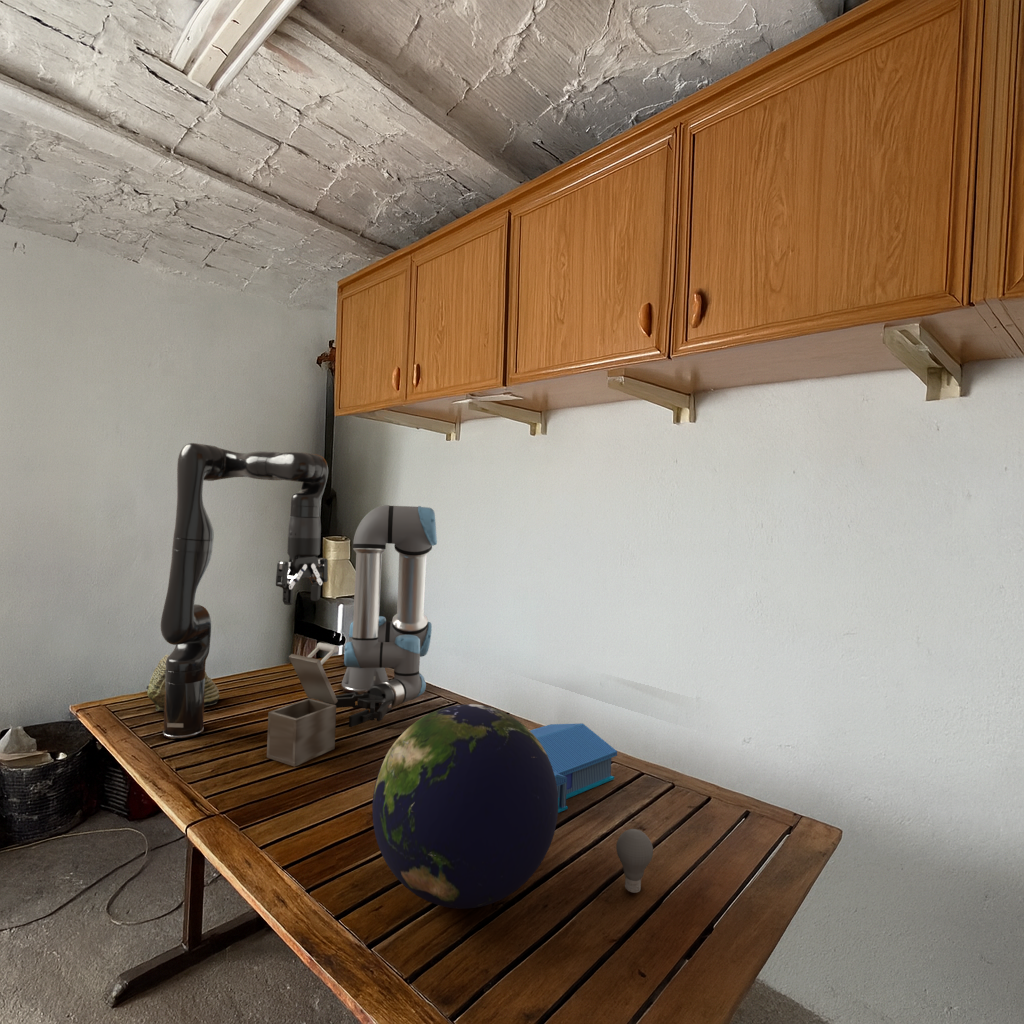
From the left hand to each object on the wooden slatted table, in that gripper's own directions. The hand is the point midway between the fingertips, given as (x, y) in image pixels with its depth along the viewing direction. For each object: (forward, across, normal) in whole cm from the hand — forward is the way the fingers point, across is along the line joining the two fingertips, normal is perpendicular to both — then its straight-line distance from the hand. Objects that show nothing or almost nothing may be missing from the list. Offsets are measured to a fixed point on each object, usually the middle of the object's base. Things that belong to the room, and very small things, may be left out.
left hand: (301, 602), depth 153 cm
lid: (+20, +4, 0) cm, 21 cm away
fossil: (+37, +7, +53) cm, 65 cm away
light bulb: (+37, -8, -87) cm, 95 cm away
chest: (+37, +2, 0) cm, 37 cm away
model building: (+37, +16, -55) cm, 69 cm away
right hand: (+31, +11, 0) cm, 33 cm away
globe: (+37, -24, -63) cm, 77 cm away
